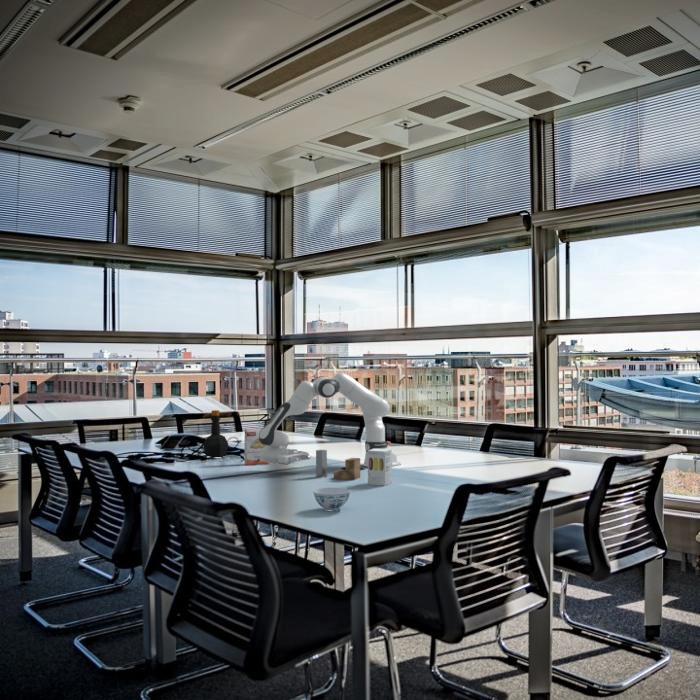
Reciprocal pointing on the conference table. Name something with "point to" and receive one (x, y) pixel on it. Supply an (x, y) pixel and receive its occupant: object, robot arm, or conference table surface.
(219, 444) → the bottle
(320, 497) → the chinaware
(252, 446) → the cracker box
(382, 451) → the supplement box
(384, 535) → the conference table surface
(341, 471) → the brown l-shaped block
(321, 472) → the grey tall block
